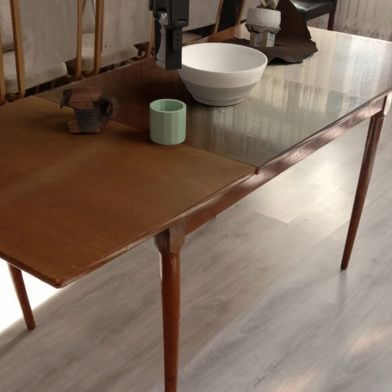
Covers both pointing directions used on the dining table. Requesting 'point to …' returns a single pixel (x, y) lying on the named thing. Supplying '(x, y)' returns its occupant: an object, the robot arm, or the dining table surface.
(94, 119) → the pottery mug
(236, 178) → the dining table surface
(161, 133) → the green cylindrical cup
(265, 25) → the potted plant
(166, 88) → the dining table surface
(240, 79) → the bowl
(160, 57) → the rook chess piece
